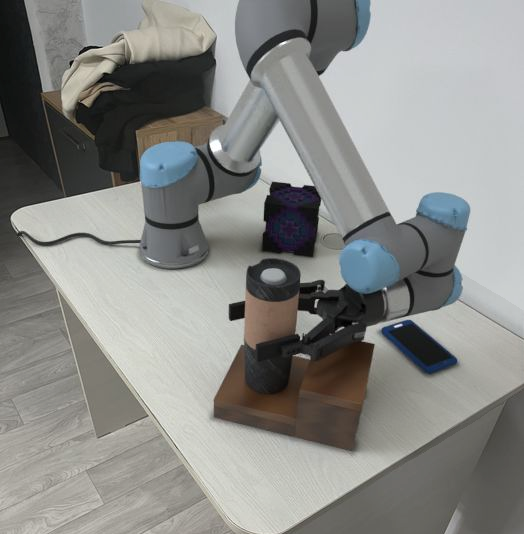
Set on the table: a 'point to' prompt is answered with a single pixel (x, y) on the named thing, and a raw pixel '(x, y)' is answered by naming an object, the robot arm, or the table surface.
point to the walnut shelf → (308, 423)
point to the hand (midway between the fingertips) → (242, 332)
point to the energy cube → (291, 219)
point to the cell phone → (419, 346)
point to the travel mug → (269, 320)
